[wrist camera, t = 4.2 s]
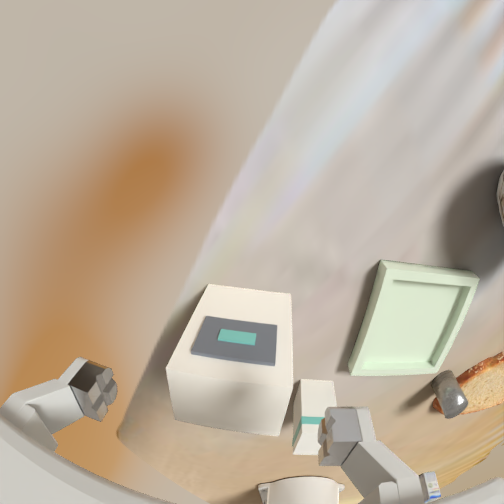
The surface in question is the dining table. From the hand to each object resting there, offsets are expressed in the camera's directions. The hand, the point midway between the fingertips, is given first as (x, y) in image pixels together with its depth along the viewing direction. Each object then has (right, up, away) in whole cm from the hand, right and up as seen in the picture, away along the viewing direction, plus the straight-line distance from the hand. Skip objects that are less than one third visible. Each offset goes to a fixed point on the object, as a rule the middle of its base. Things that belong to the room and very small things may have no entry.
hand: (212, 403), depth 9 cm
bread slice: (+40, -16, +21) cm, 48 cm away
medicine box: (+44, -52, +34) cm, 76 cm away
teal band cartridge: (+9, -12, +23) cm, 27 cm away
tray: (+19, -2, +18) cm, 26 cm away
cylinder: (+28, -12, +21) cm, 37 cm away
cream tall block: (+1, -1, +19) cm, 19 cm away
